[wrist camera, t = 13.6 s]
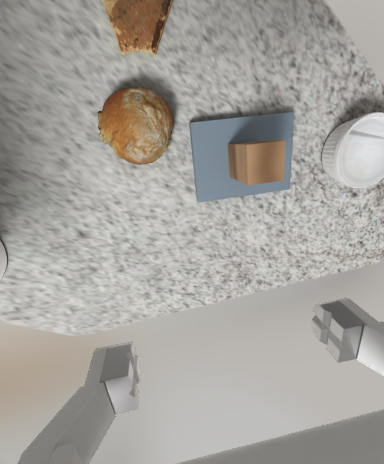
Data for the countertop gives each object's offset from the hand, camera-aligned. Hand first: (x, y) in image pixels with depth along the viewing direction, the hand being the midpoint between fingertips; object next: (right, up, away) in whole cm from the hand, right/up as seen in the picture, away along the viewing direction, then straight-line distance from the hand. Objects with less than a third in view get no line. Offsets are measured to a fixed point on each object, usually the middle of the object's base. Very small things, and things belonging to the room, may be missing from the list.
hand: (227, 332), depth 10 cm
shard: (-9, +33, +20) cm, 40 cm away
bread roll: (-10, +20, +25) cm, 33 cm away
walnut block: (+7, +16, +27) cm, 32 cm away
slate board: (+6, +17, +28) cm, 34 cm away
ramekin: (+25, +19, +31) cm, 44 cm away
